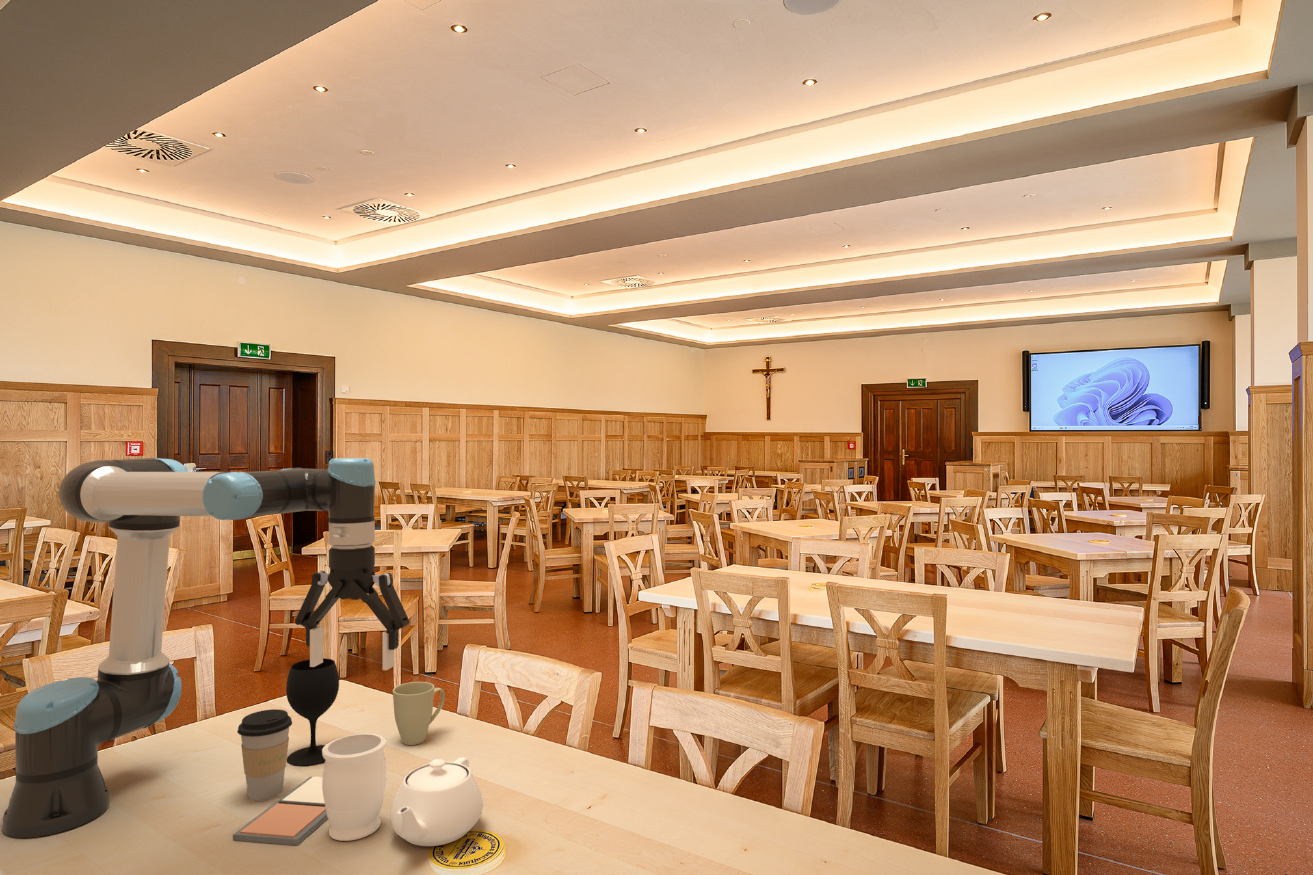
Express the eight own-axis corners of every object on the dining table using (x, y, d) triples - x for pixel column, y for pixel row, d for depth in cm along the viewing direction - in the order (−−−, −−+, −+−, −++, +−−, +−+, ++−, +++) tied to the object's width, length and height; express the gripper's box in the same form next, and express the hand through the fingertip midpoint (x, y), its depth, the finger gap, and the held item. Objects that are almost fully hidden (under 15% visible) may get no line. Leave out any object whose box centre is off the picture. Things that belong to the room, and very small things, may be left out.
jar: (346, 852, 124) (346, 762, 124) (309, 834, 130) (309, 748, 130) (399, 823, 134) (399, 740, 133) (362, 808, 139) (362, 728, 139)
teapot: (427, 795, 144) (427, 731, 144) (504, 801, 142) (504, 737, 142) (353, 869, 120) (353, 792, 120) (444, 879, 117) (444, 801, 117)
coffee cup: (269, 808, 139) (269, 727, 139) (225, 803, 141) (225, 723, 141) (303, 784, 149) (302, 709, 148) (261, 780, 150) (261, 706, 150)
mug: (431, 749, 166) (431, 694, 166) (386, 748, 166) (386, 694, 166) (445, 729, 176) (445, 678, 176) (403, 729, 177) (403, 678, 177)
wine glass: (349, 753, 163) (349, 661, 163) (304, 771, 155) (304, 674, 155) (320, 742, 169) (320, 654, 169) (276, 759, 160) (276, 666, 160)
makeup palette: (232, 839, 128) (232, 831, 128) (310, 781, 150) (310, 773, 150) (297, 845, 126) (297, 836, 126) (365, 785, 148) (365, 777, 148)
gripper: (273, 547, 130) (273, 669, 130) (408, 550, 126) (408, 676, 126) (299, 541, 137) (300, 657, 137) (428, 543, 133) (428, 662, 133)
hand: (352, 666), depth 132 cm, fingers open, 13 cm apart
